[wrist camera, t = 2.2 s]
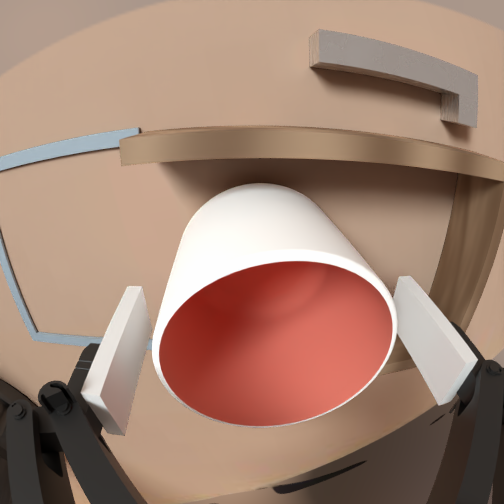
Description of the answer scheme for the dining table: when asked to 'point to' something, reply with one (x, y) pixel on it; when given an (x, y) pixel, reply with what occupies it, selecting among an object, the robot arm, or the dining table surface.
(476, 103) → the hook bar
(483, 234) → the cubby
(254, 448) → the dining table surface
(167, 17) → the dining table surface
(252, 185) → the cup
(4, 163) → the pale blue bent rod
